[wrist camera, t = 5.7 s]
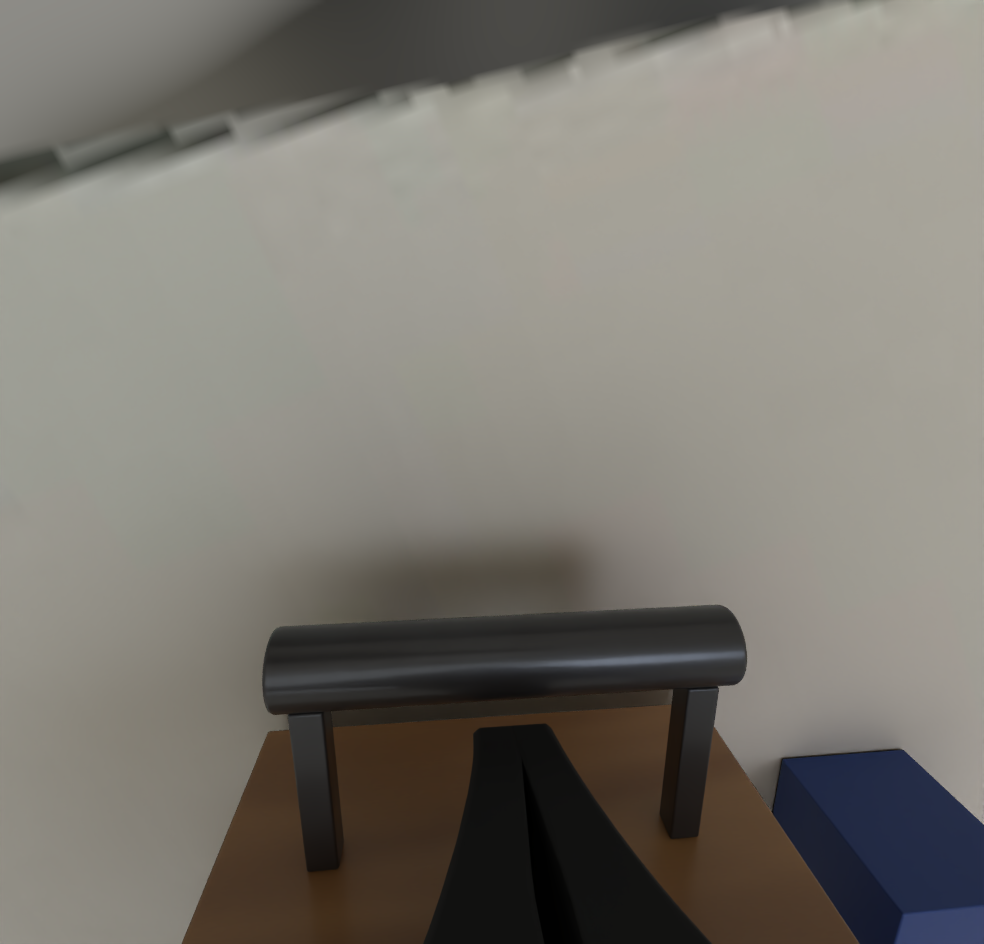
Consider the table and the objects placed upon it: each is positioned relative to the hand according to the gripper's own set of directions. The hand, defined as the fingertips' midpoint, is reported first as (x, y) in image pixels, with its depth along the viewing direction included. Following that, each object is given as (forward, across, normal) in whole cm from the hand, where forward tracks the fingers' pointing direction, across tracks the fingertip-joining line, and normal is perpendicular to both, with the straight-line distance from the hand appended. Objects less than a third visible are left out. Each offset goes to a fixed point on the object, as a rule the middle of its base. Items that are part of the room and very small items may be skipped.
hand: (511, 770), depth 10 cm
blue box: (+5, -11, +7) cm, 14 cm away
